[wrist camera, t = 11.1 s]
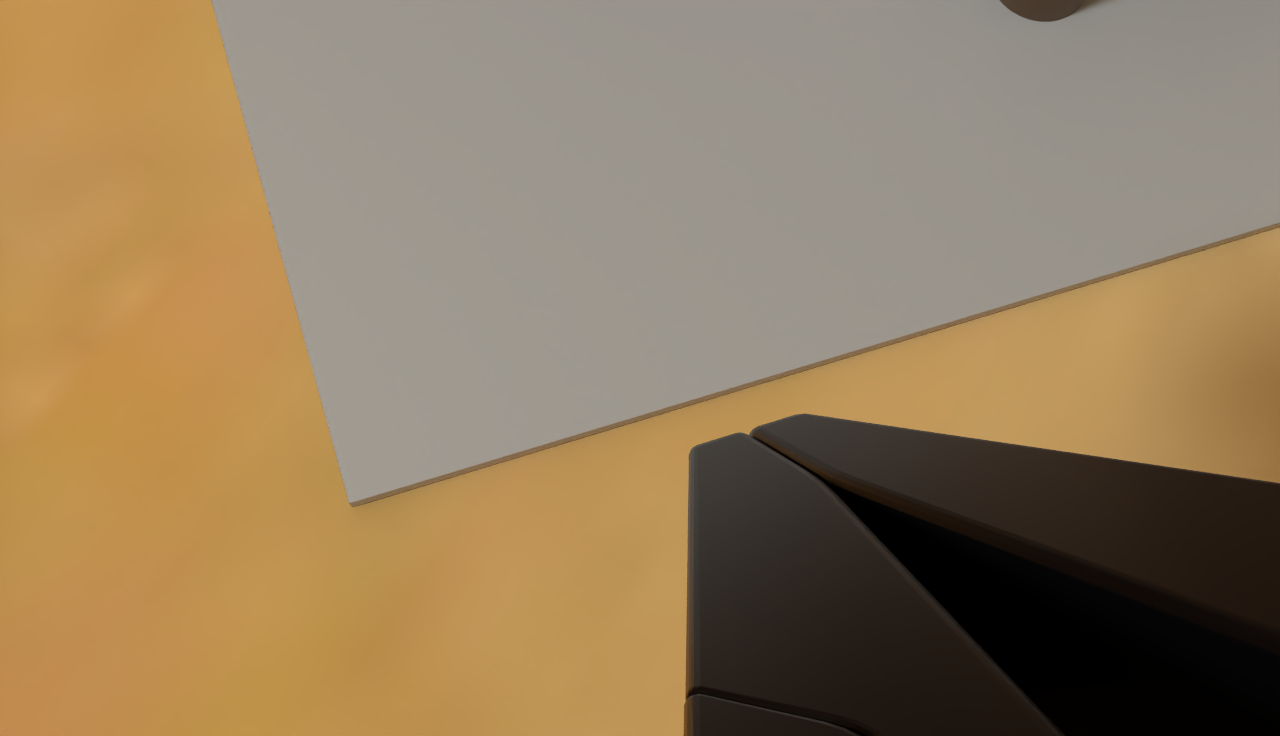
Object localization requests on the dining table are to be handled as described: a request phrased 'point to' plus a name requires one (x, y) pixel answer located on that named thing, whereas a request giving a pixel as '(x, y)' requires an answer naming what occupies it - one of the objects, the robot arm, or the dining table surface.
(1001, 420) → the dining table surface
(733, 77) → the card
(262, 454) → the dining table surface
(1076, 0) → the fence fixed
